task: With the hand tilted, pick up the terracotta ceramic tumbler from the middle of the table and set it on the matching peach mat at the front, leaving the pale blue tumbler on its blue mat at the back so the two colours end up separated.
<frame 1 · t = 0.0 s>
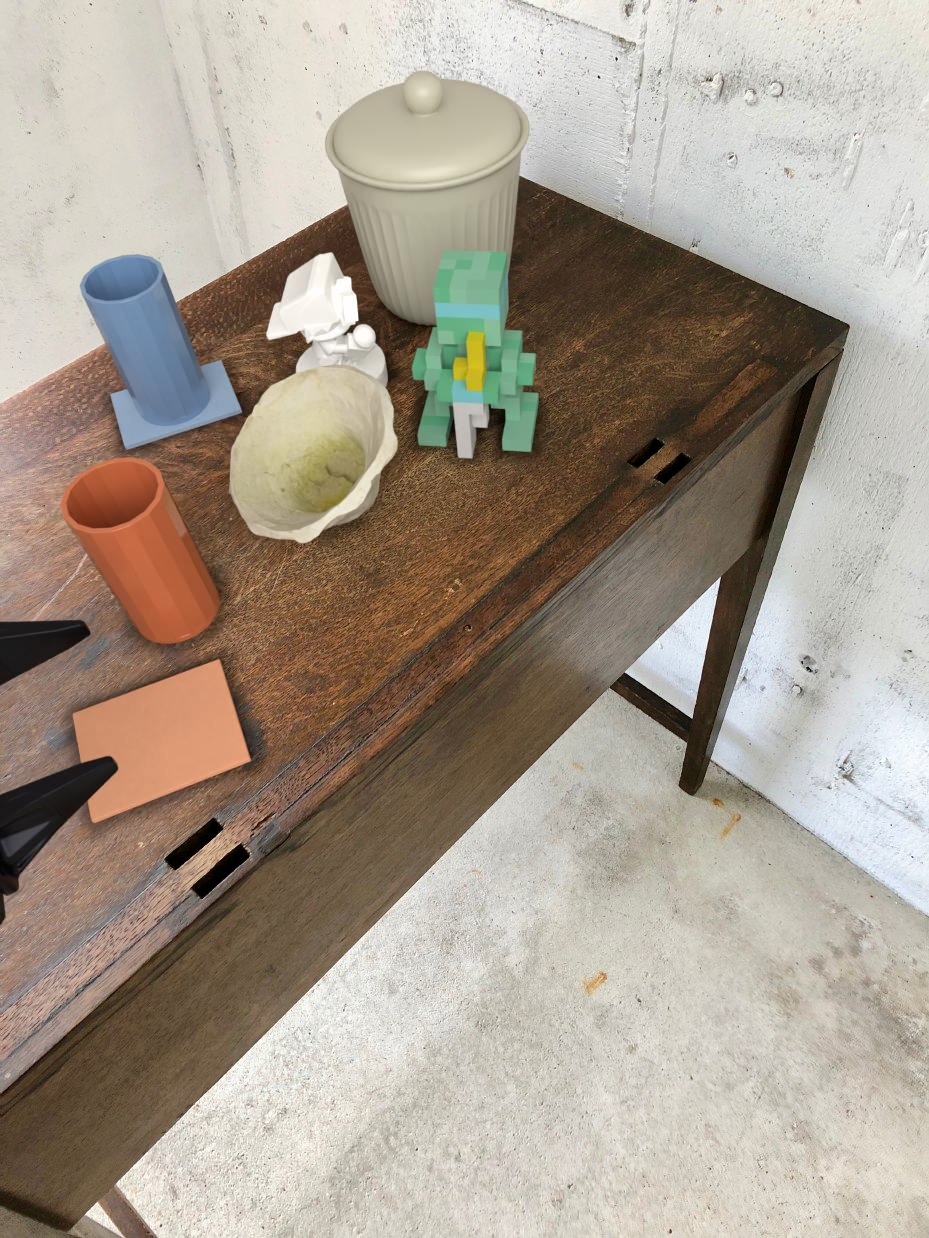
hand: (100, 690, 47), 15 cm above the table, tool horizontal, fingers open, 9 cm apart
toy: (480, 421, 79), on the table
blue mat: (176, 405, 83), on the table
terracotta cup: (177, 608, 69), on the table
canister: (442, 296, 91), on the table
peach mat: (161, 738, 62), on the table
blue cup: (174, 401, 83), resting on blue mat
bowl: (326, 508, 74), on the table
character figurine: (338, 383, 84), on the table
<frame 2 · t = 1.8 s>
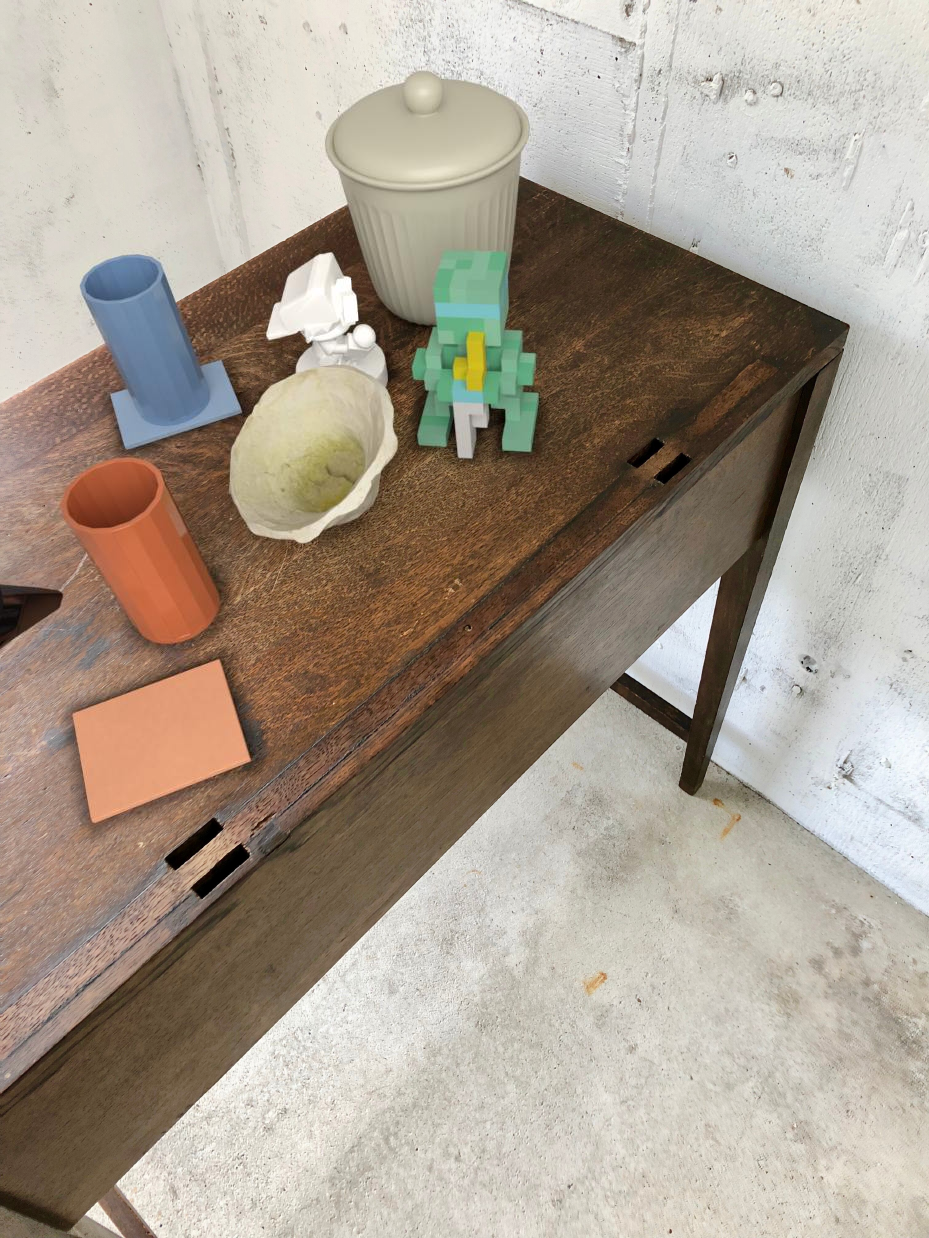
hand: (13, 566, 54), 13 cm above the table, tool tilted 45°, fingers open, 9 cm apart
nothing on the table moved.
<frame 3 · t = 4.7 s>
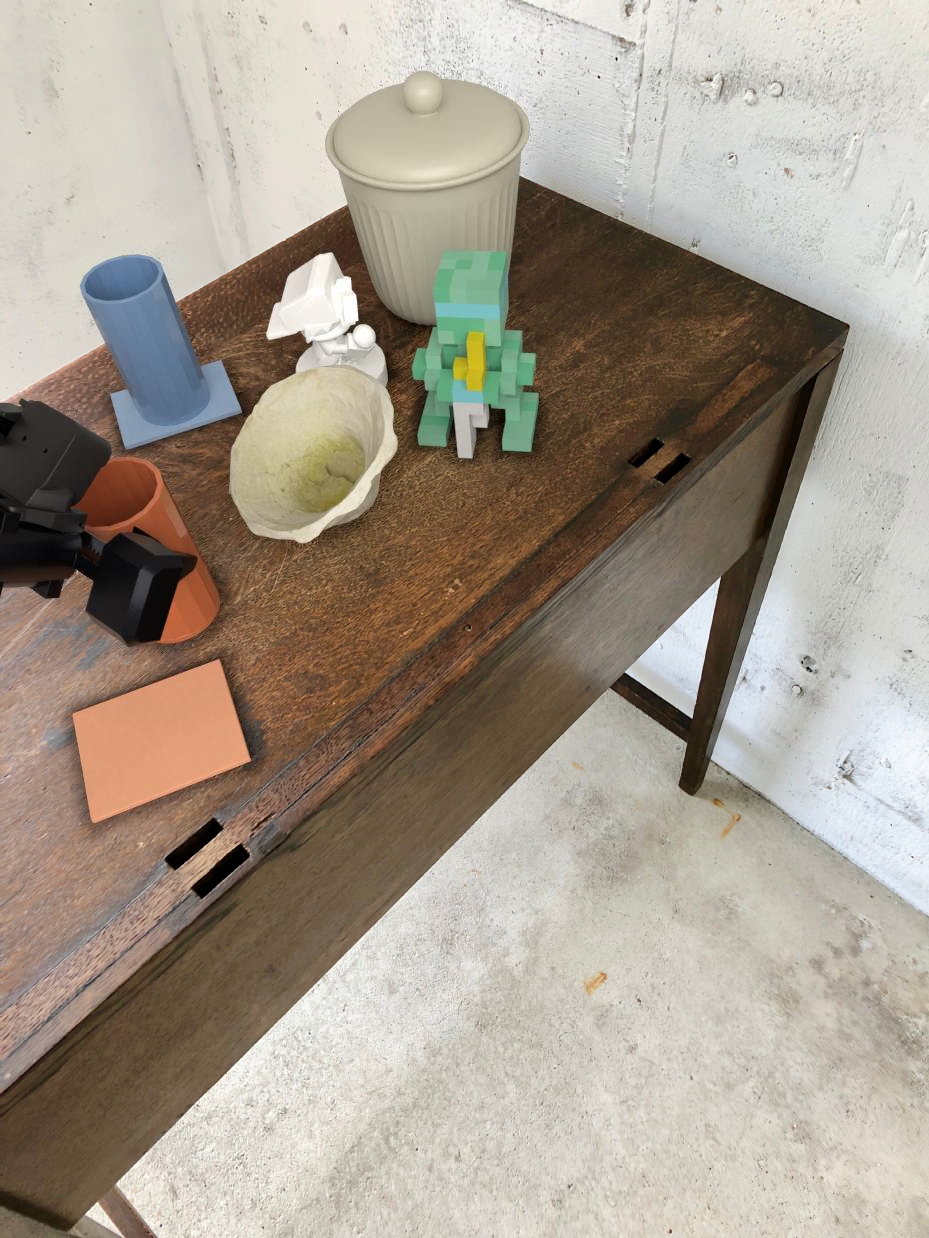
hand: (161, 541, 64), 7 cm above the table, tool tilted 45°, fingers closed on terracotta cup, 7 cm apart
terracotta cup: (177, 608, 69), on the table, touching gripper
everything else where it was.
when the fingers open (7 cm above the table, at t = 11.1 s): terracotta cup stays where it is, resting on peach mat.
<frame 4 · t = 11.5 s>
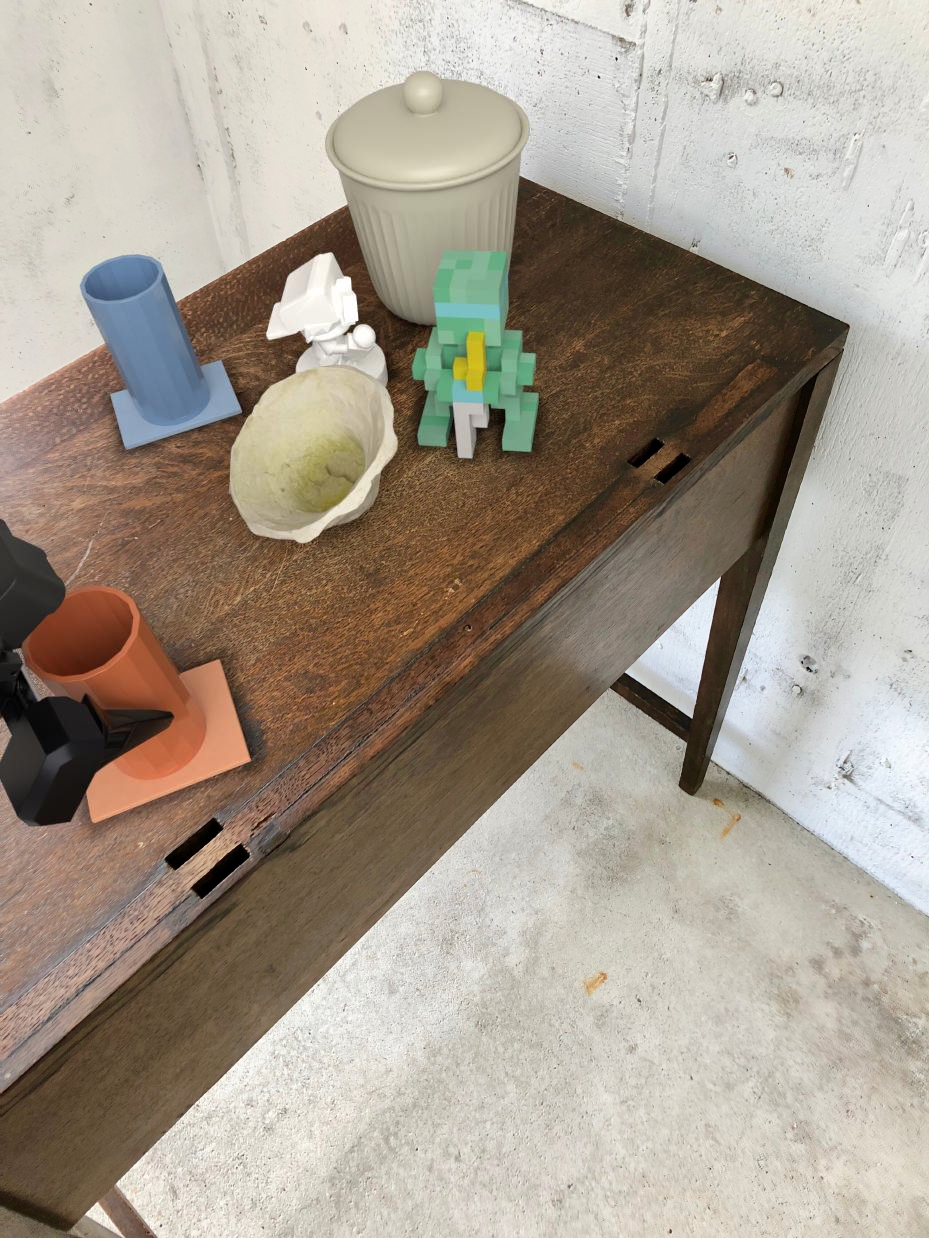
hand: (140, 670, 56), 8 cm above the table, tool tilted 45°, fingers open, 9 cm apart
terracotta cup: (158, 735, 62), resting on peach mat
everything else where it was.
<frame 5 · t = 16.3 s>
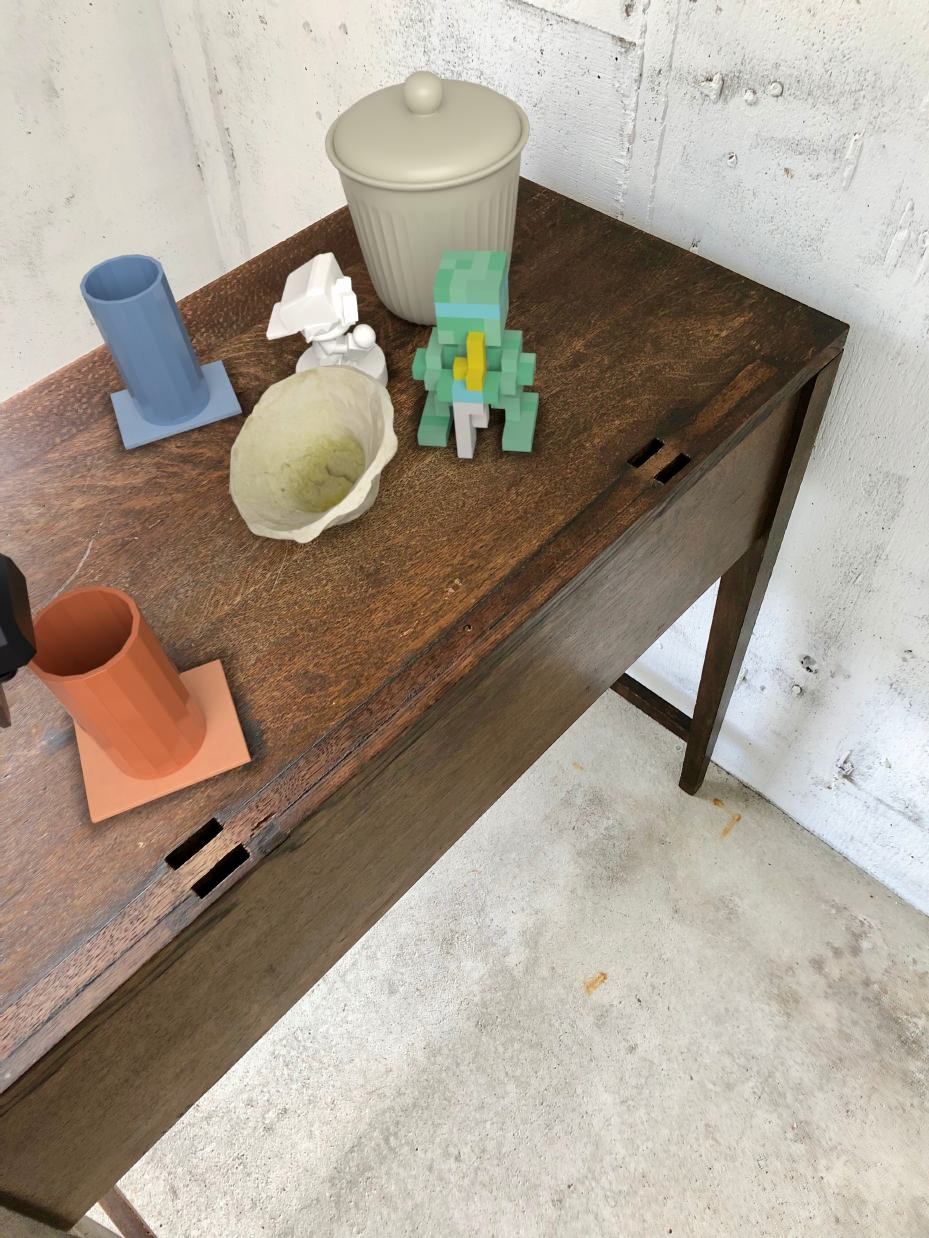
nothing on the table moved.
at the end: terracotta cup 0.1 cm off-centre on the peach mat, point 0.5 cm above the peach mat's base; terracotta cup tilted 0°; blue cup inside the target area on the blue mat (0.0 cm from its centre), point 0.5 cm above the blue mat's base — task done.
